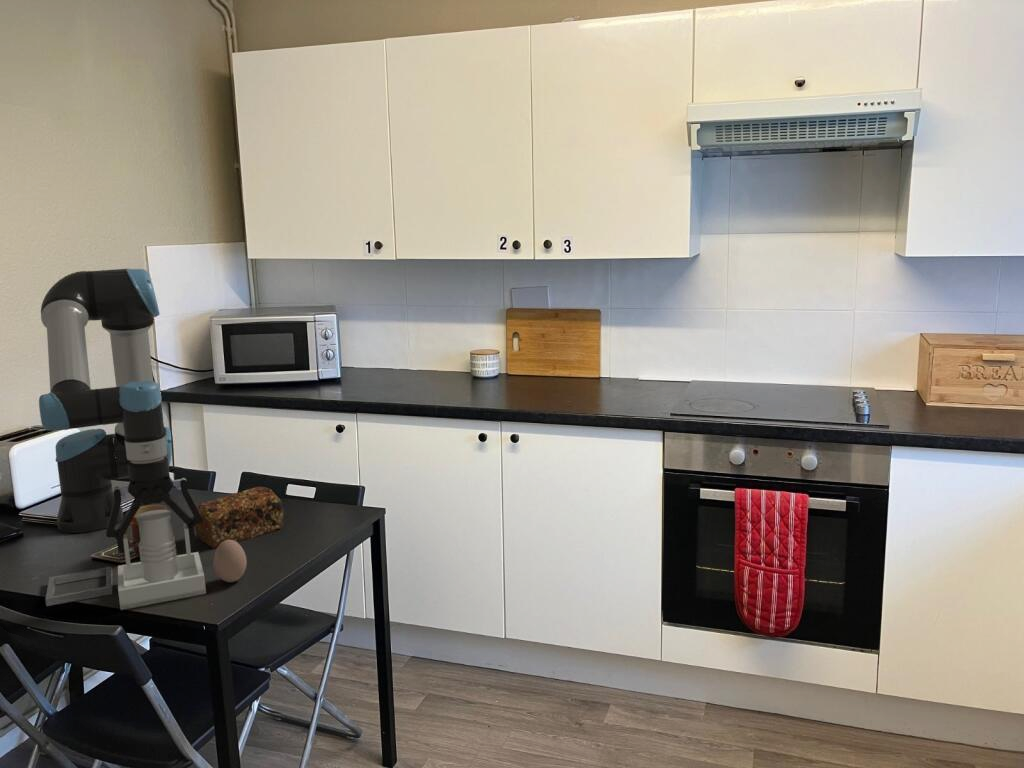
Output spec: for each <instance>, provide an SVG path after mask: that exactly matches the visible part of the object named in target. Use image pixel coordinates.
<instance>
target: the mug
mask: <svg viewBox="0 0 1024 768" xmlns="http://www.w3.org/2000/svg"><path fill="white" fill-rule="evenodd" d="M153 510H168V507H167V505H161V504H149V505H141V506H140V508H139V509H138V511H137V512H136V514H135V516H134V518H133V519H132V521H131V523H130V525H129V527H130V531H131V532H130V533H131V535H130V536H131V542H130V540H129V537H128V536H127V538H128V546H129V548H132V550H133V552H134V555H135V557H138V558H140V551H139V542H140V533H139V525H138V521H137V520H136V517H137V516H138V515H140V514H142V513H144V512H148V511H153ZM127 512H128V511H126V512H125V515H126V514H127ZM127 530H128V529H127ZM127 530H126V532H125V534H127V535H128V532H127Z"/></svg>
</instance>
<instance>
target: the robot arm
mask: <svg viewBox="0 0 1024 768" xmlns="http://www.w3.org/2000/svg"><path fill="white" fill-rule="evenodd" d="M160 315H161V314H160V309H159V306H158V300H157V297H156V293H155V289H154V284H153V281H152V278H151V274H150V272H149V271H148V270H146V269H143V268H119V269H115V268H114V269H102V270H87V271H86V270H83V271H74V272H72V273H70V274H67V275H65V276H63V277H62V278H60V279H59V280H58V281H56V283H54V284H53V285H52V286H51V287H50V289H49V290H48V291H47V293H46V294H45V296H44V298H43V300H42V303H41V307H40V320H41V322H42V325H43V326H44V327H45V328H46V334H47V336H46V339H47V352H48V355H47V356H48V357H47V358H48V372H49V391H50V392H48V393H46V394H41V395H40V396H39V398H38V408H39V409H38V410H39V416H40V421H41V426H42V427H43V429H44V430H46V431H63V430H64V431H66V430H67V431H68V430H73V429H78V428H88V427H89V428H90V427H94V426H95V427H97V426H106V425H112V424H116V425H115V427H114V433H108V434H107V432H106V431H105V429H103V428H96V429H94V428H92V429H86V430H82V431H78V432H75V433H74V432H73V433H71V434H69V435H66V436H64V437H62V438H61V439H59V440H58V441H57V442H56V444H55V462H56V463H57V464H56V465H57V471H58V480H59V487H60V494H61V496H60V497H61V498H60V499H61V500H60V504H59V507H58V511H57V512H58V513H57V518H56V523H57V529H58V531H60V532H64V533H70V534H80V533H88V532H96V531H100V530H104V529H106V533H105V534H106V535H105V536H106V537H107V538H114V539H116V542H117V543H116V544H117V551H118V553H119V554H124V558H125V565H126V567H127V569H131V555H130V549H129V548H130V547H129V546H128V540H129V537H128V533H127V534H125V532H126V530H128V528H129V527H130V526H129V525H130V523H131V521H132V519H133V518H134V516H135V514H136V512H137V511H138V509H139V508H140V506H142V505H143V506H146V505H153V504H161V503H163V502H164V503H165V504H166V506H168V507H169V508H170V509H171V510H172V511H173V512H174V513H175V514H176V515H177V516H178V517H179V518H180V519H181V521H183V523H184V524H183V530H184V531H183V532H184V533H183V535H184V541H185V544H184V545H185V551H186V553H185V554H187V558H188V559H189V558H191V553H192V552H191V544H190V543H191V542H195V541H196V534H195V533H196V531H195V525H196V524H197V523H201V522H202V521H203V519H202V516H201V514H200V512H199V510H198V508H197V507H198V506H197V504H196V502H195V501H194V498H193V496H192V495H191V493H190V491H189V489H188V481H187V479H186V477H183V476H182V477H181V478H179V479H172V478H171V476H170V466H171V461H172V431H171V429H170V427H168V426H165V423H164V412H163V403H162V402H163V401H162V398H163V397H162V394H161V389H160V385H159V383H158V382H156V381H154V375H153V366H152V358H151V357H152V356H151V347H150V337H149V330H150V329H151V328H152V327H153V326H154V324H155V320H154V318H156V317H158V316H160ZM90 321H101V327H102V328H103V330H105V331H106V332H108V333H109V336H110V344H111V345H110V346H111V347H110V348H111V354H112V363H113V371H114V378H115V379H114V380H115V386H113V387H112V386H111V387H103V388H91V379H90V377H91V376H90V368H89V357H88V348H87V341H86V340H87V337H86V328H85V327H86V326H87V325H88V323H89V322H90ZM120 479H128V480H129V482H128V485H127V486H125V487H120V486H115V487H114V488H113V484H112V480H120ZM173 487H175V488H176V490H177V491H181V494H182V496H183V498H184V500H185V502H186V504H187V505H188V507H189V509H190V511H191V513H192V517H191V516H190V515H189V514H188V513H187V512H186V510H184V509H183V508H182V506H180V505H179V503H178V502H177V501H176V500H175V498H173V497H172V495H170V492H171V490H172V489H173ZM128 493H129V494H130V495H131V497H133V498H134V499H133V500H132V501H131V505H130V507H129V508H128V510H127V511H126V512H127V514H126V513H125V514H124V512H123V508H122V499H125V498H126V495H127V494H128ZM193 516H194V517H193ZM120 522H121V523H120ZM119 523H120V525H119V526H118V528H117V529H116V528H115V527H116V525H117V524H119ZM127 537H128V538H127Z"/></svg>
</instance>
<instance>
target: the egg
mask: <svg viewBox="0 0 1024 768" xmlns="http://www.w3.org/2000/svg"><path fill="white" fill-rule="evenodd" d="M215 549H216V550H215V552H214V555H213V561H212V563H213V570H214V573H215V575H216V576H217V577H218V578H219V579H220V580H221V581H224V582H225V583H234V582H237V581H238V580H239V579H241V577H243V575H244V573H245V571H246V569H247V565H248V564H247V563H248V562H247V556H246V555H247V554H246V553H245V550H244V549H243V547H242V545H240V544H239V542H236V541H233V540H225V541H223V542H222V543H221V544H220V545H219V546H218V548H215Z"/></svg>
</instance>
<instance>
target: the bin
mask: <svg viewBox="0 0 1024 768" xmlns="http://www.w3.org/2000/svg"><path fill="white" fill-rule="evenodd" d="M201 561H202V560H201V557H200V554H199V551H196V552H191V558H189V559H188V558H187V553H184V554H177V557H176V563H177V567H178V574H177V575H176V576H174V577H175V578H176V579H171V580H166V581H161V582H155V583H150V584H148V581H146V580H145V579H144V578H143V564H141V561H138V562H132V563H131V562H130V563H131V569H127V567H126V564H121V565H118V566H117V589H118V590H117V592H118V599H119V600H118V601H119V607H120V608H119V609H120V611H123V610H129V609H134V608H140V607H144V606H150V605H155V604H160V603H164V602H171V601H176V600H180V599H181V600H182V599H185V598H191V597H196V596H200V595H201V596H202V595H205V594H207V589H206V588H207V587H206V580H205V574H204V569H203V565H202V562H201Z"/></svg>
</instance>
